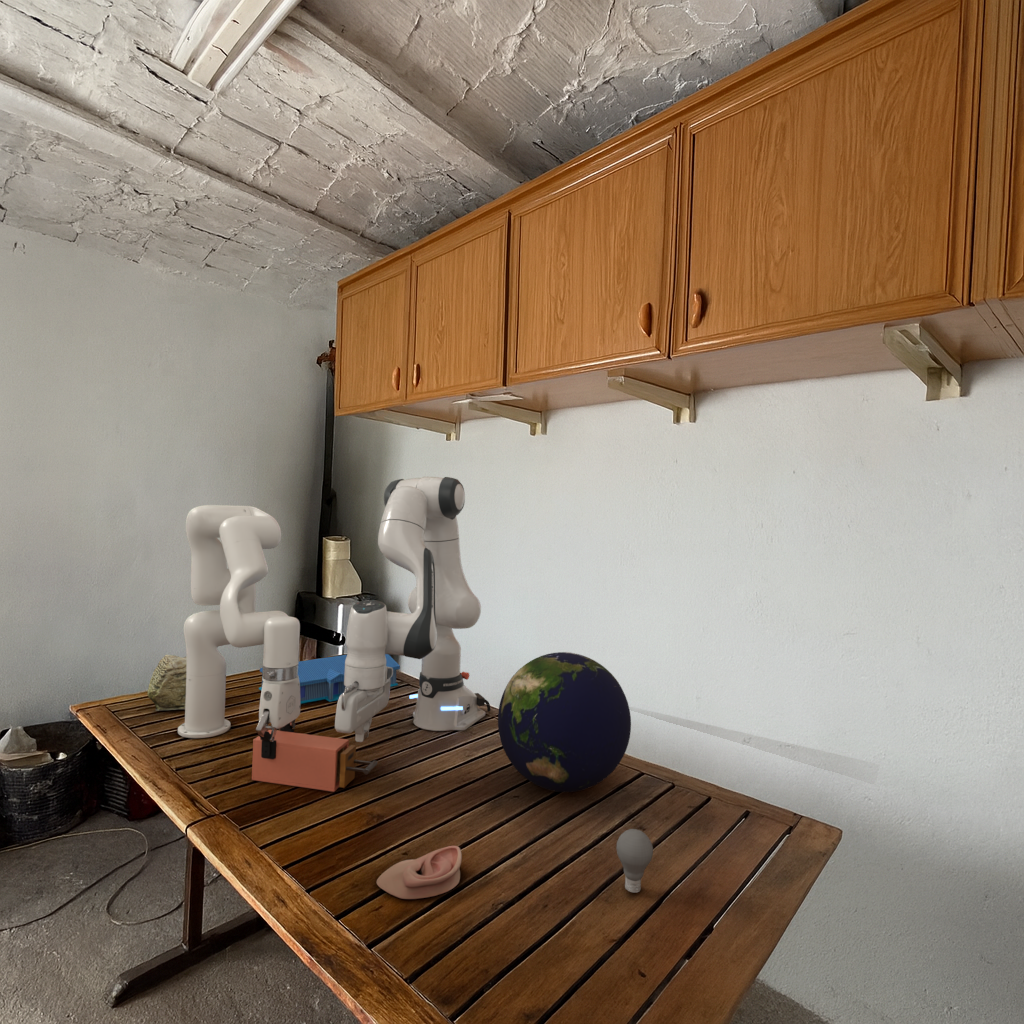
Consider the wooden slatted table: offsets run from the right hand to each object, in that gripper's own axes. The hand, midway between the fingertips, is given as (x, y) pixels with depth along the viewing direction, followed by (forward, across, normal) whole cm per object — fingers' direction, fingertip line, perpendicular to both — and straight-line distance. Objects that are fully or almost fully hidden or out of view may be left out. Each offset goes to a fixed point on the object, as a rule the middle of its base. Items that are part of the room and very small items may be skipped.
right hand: (361, 739), depth 138 cm
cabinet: (+11, 0, +14) cm, 18 cm away
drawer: (+10, 0, +9) cm, 14 cm away
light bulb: (+11, -21, -59) cm, 63 cm away
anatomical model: (+11, -28, -24) cm, 38 cm away
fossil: (+11, +34, +71) cm, 79 cm away
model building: (+10, +63, +39) cm, 75 cm away
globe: (+10, +14, -42) cm, 46 cm away
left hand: (+5, 0, +20) cm, 21 cm away
